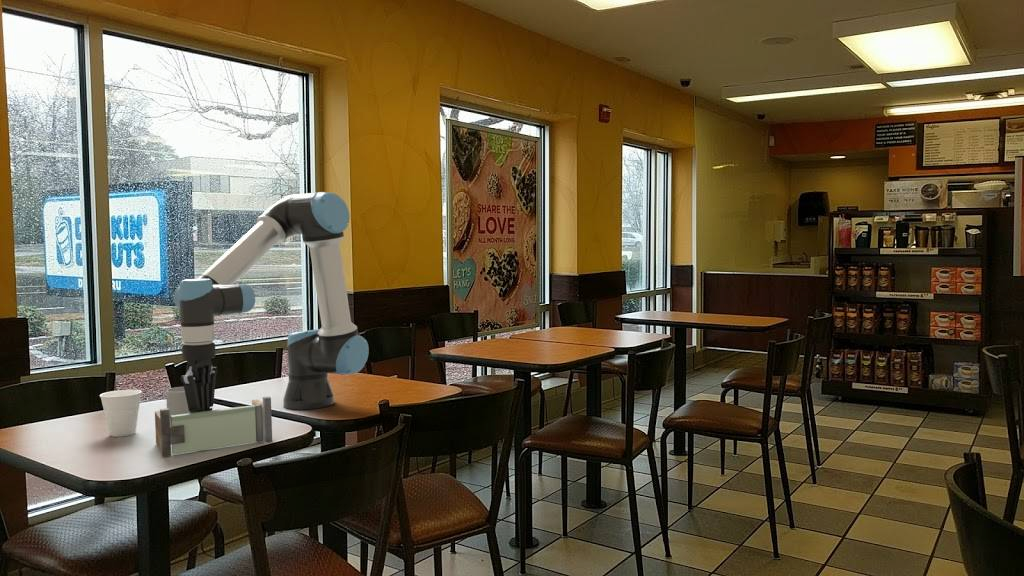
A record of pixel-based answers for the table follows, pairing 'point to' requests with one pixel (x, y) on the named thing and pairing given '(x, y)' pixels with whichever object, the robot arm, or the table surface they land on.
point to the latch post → (167, 432)
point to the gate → (219, 428)
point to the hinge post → (266, 417)
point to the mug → (176, 401)
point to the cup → (121, 411)
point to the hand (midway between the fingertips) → (202, 438)
